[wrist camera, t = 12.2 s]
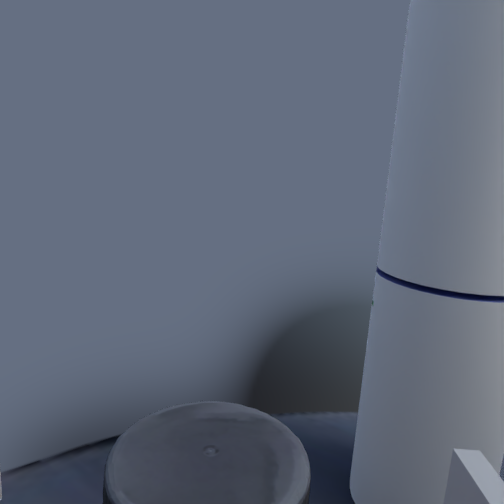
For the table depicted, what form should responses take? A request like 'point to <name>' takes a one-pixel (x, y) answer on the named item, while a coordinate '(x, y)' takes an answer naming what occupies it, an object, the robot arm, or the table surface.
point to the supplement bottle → (207, 458)
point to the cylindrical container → (438, 263)
